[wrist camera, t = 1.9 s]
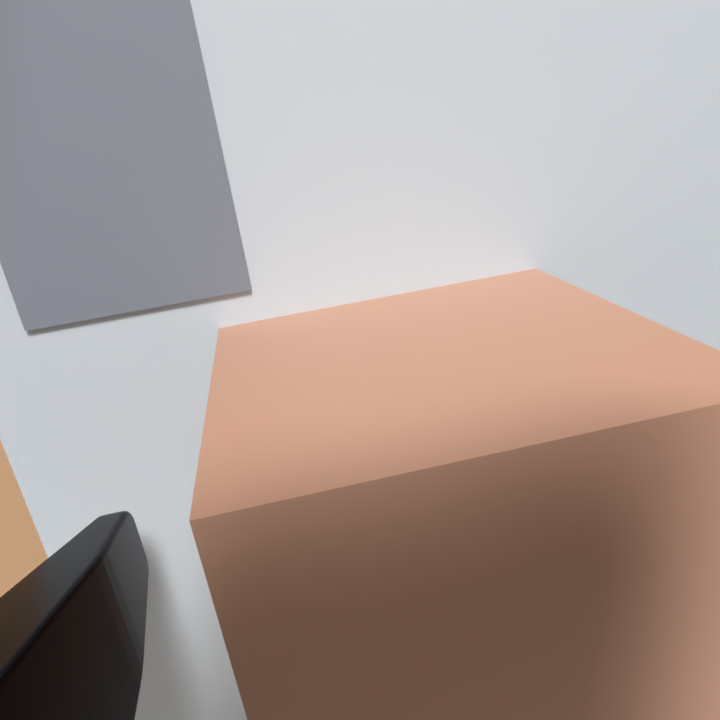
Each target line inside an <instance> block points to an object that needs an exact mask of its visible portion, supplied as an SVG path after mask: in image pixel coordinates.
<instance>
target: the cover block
mask: <svg viewBox="0 0 720 720" xmlns="http://www.w3.org/2000/svg"><path fill="white" fill-rule="evenodd" d="M189 522H190V526H191V529H192V533H193V536H194V539H195V543H196V546H197V550H198V553H199V556H200V560H201V563H202V567H203V570H204V573H205V577H206V580H207V584H208V587H209V591H210V594H211V597H212V601H213V604H214V608H215V611H216V614H217V618H218V621H219V625H220V628H221V632H222V635H223V638H224V642H225V645H226V649H227V652H228V655H229V659H230V662H231V666H232V669H233V672H234V676H235V679H236V683H237V686H238V690H239V693H240V696H241V700H242V703H243V707H244V710H245V713H246V717H247V720H720V351H719V350H717V349H715V348H712V347H710V346H708V345H706V344H703V343H701V342H699V341H697V340H694V339H692V338H690V337H688V336H686V335H683V334H681V333H679V332H677V331H674V330H672V329H670V328H668V327H665V326H663V325H661V324H659V323H657V322H654V321H652V320H650V319H648V318H645V317H643V316H641V315H639V314H636V313H634V312H632V311H630V310H628V309H625V308H623V307H621V306H619V305H616V304H614V303H612V302H610V301H607V300H605V299H603V298H601V297H599V296H596V295H594V294H592V293H590V292H587V291H585V290H583V289H581V288H578V287H576V286H574V285H572V284H570V283H567V282H565V281H563V280H561V279H558V278H556V277H554V276H552V275H549V274H547V273H545V272H543V271H541V270H538V269H536V268H535V269H529V270H524V271H519V272H513V273H508V274H503V275H498V276H492V277H487V278H482V279H476V280H471V281H466V282H460V283H455V284H450V285H444V286H439V287H434V288H428V289H423V290H418V291H412V292H407V293H402V294H397V295H391V296H386V297H381V298H375V299H370V300H365V301H359V302H354V303H349V304H343V305H338V306H333V307H327V308H322V309H317V310H312V311H306V312H301V313H296V314H290V315H285V316H280V317H274V318H269V319H264V320H258V321H253V322H248V323H242V324H237V325H232V326H227V327H221V328H219V330H218V337H217V343H216V350H215V356H214V363H213V369H212V376H211V382H210V389H209V395H208V402H207V408H206V415H205V421H204V428H203V434H202V440H201V447H200V453H199V460H198V466H197V473H196V479H195V486H194V492H193V499H192V505H191V512H190V518H189Z"/></svg>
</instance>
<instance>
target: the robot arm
mask: <svg viewBox="0 0 720 720" xmlns="http://www.w3.org/2000/svg"><path fill="white" fill-rule="evenodd" d="M148 577H149V569H148V561H147V557H146V554H145V551H144V548H143V545H142V542H141V539H140V536H139V533H138V530H137V527H136V524H135V521H134V518H133V516H132V515H131V513H129V512H128V511H120V512H115V513H111V514H106V515H102V516H99V517H98V518H96V519H95V520H94V521H93V522H91V523H90V524H89V525H88V526H87V527H85V528H84V529H83V530H82V531H81V532H79V533H78V534H77V535H76V536H74V537H73V538H72V539H71V540H70V541H68V542H67V543H66V544H65V545H64V546H62V547H61V548H60V549H59V550H57V551H56V552H55V553H54V554H53V555H51V556H50V557H49V558H48V559H47V560H45V561H44V562H43V563H42V564H40V565H39V566H38V567H37V568H36V569H34V570H33V571H32V572H31V573H30V574H28V575H27V576H26V577H25V578H23V579H22V580H21V581H20V582H19V583H17V584H16V585H15V586H14V587H13V588H11V589H10V590H9V591H8V592H6V593H5V594H4V595H3V596H2V597H0V720H135V714H136V709H137V703H138V697H139V692H140V686H141V679H142V673H143V662H144V647H145V630H146V612H147V595H148Z"/></svg>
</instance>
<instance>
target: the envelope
mask: <svg viewBox="0 0 720 720" xmlns="http://www.w3.org/2000/svg"><path fill="white" fill-rule="evenodd" d="M535 268H536V269H538V270H541V271H543V272H545V273H547V274H549V275H552V276H554V277H556V278H558V279H561V280H563V281H565V282H567V283H570V284H572V285H574V286H576V287H578V288H581V289H583V290H585V291H587V292H590V293H592V294H594V295H596V296H599V297H601V298H603V299H605V300H607V301H610V302H612V303H614V304H616V305H619V306H621V307H623V308H625V309H628V310H630V311H632V312H634V313H636V314H639V315H641V316H643V317H645V318H648V319H650V320H652V321H654V322H657V323H659V324H661V325H663V326H665V327H668V328H670V329H672V330H674V331H677V332H679V333H681V334H683V335H686V336H688V337H690V338H692V339H694V340H697V341H699V342H701V343H703V344H706V345H708V346H710V347H712V348H715V349H717V350H719V351H720V0H0V440H1V442H2V445H3V447H4V450H5V452H6V455H7V457H8V460H9V462H10V465H11V467H12V470H13V472H14V475H15V477H16V480H17V482H18V485H19V487H20V490H21V492H22V495H23V497H24V500H25V502H26V505H27V507H28V510H29V512H30V515H31V517H32V520H33V522H34V524H35V527H36V529H37V532H38V534H39V537H40V539H41V542H42V544H43V547H44V549H45V552H46V554H47V557H48V558H49V557H50V556H51V555H53V554H54V553H55V552H56V551H57V550H59V549H60V548H61V547H62V546H64V545H65V544H66V543H67V542H68V541H70V540H71V539H72V538H73V537H74V536H76V535H77V534H78V533H79V532H81V531H82V530H83V529H84V528H85V527H87V526H88V525H89V524H90V523H91V522H93V521H94V520H95V519H96V518H98V517H99V516H102V515H106V514H111V513H115V512H120V511H128V512H129V513H131V515H132V516H133V518H134V521H135V524H136V527H137V530H138V533H139V536H140V539H141V542H142V545H143V548H144V551H145V554H146V557H147V561H148V569H149V577H148V595H147V612H146V630H145V647H144V662H143V673H142V679H141V686H140V692H139V697H138V703H137V709H136V714H135V720H247V717H246V713H245V710H244V707H243V703H242V700H241V696H240V693H239V690H238V686H237V683H236V679H235V676H234V672H233V669H232V666H231V662H230V659H229V655H228V652H227V649H226V645H225V642H224V638H223V635H222V632H221V628H220V625H219V621H218V618H217V614H216V611H215V608H214V604H213V601H212V597H211V594H210V591H209V587H208V584H207V580H206V577H205V573H204V570H203V567H202V563H201V560H200V556H199V553H198V550H197V546H196V543H195V539H194V536H193V533H192V529H191V526H190V522H189V518H190V512H191V505H192V499H193V492H194V486H195V479H196V473H197V466H198V460H199V453H200V447H201V440H202V434H203V428H204V421H205V415H206V408H207V402H208V395H209V389H210V382H211V376H212V369H213V363H214V356H215V350H216V343H217V337H218V330H219V328H221V327H227V326H232V325H237V324H242V323H248V322H253V321H258V320H264V319H269V318H274V317H280V316H285V315H290V314H296V313H301V312H306V311H312V310H317V309H322V308H327V307H333V306H338V305H343V304H349V303H354V302H359V301H365V300H370V299H375V298H381V297H386V296H391V295H397V294H402V293H407V292H412V291H418V290H423V289H428V288H434V287H439V286H444V285H450V284H455V283H460V282H466V281H471V280H476V279H482V278H487V277H492V276H498V275H503V274H508V273H513V272H519V271H524V270H529V269H535Z"/></svg>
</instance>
